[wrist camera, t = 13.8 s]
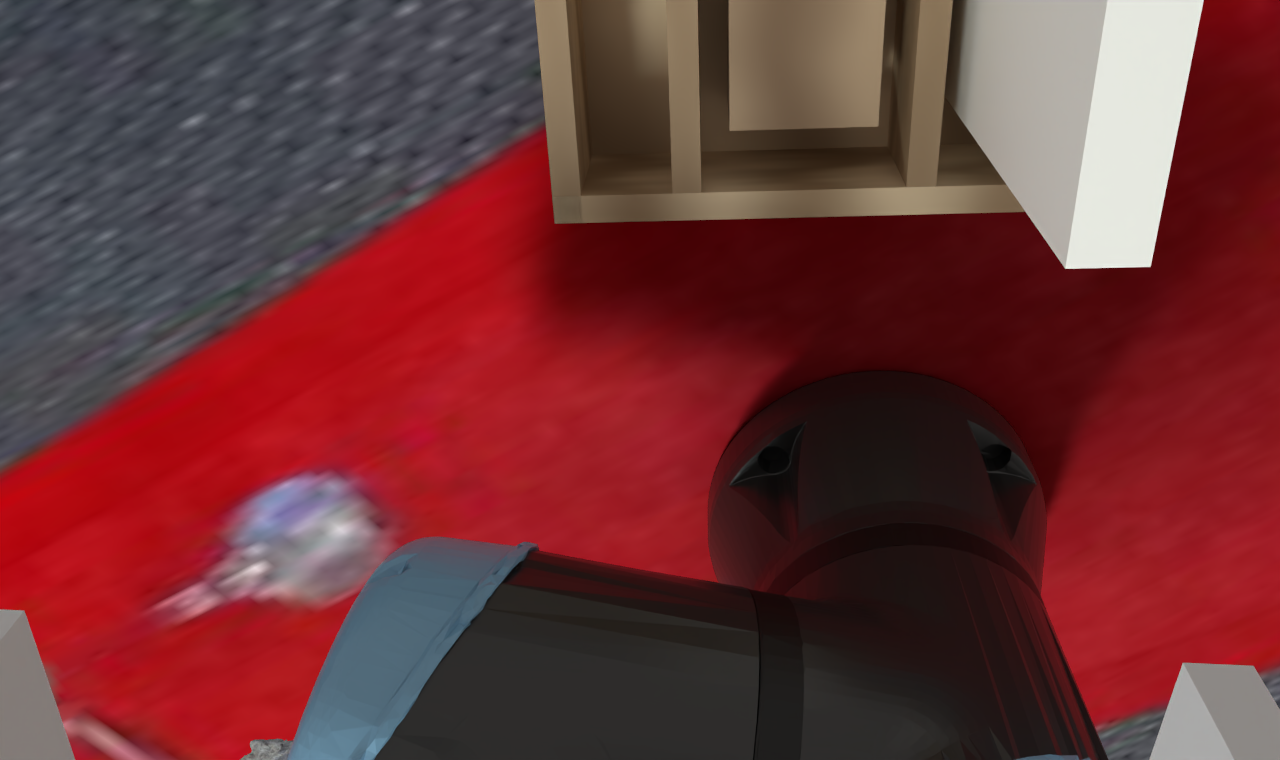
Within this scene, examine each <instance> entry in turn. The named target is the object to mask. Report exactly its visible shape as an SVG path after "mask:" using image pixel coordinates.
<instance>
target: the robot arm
mask: <svg viewBox="0 0 1280 760" xmlns="http://www.w3.org/2000/svg"><path fill="white" fill-rule="evenodd" d="M1046 530H1047V516H1046V507H1045V501H1044V495H1043V491H1042V487H1041V484H1040V481H1039V478H1038V476H1037V473H1036V471H1035V469H1034V467H1033V465H1032V462H1031V460H1030V458H1029V456H1028V454H1027V451H1026V449H1025V447H1024V445H1023V443H1022V442H1021V440H1020V438H1019V437H1018V435H1017V433H1016V432H1015V431H1014V429H1013V428H1012V427H1011V426H1010V424H1009V423H1008V422H1007V421H1006V420H1005V419H1004V418H1003V417H1002V416H1001V415H1000V414H999V413H998V412H997V411H996V410H995V409H994V408H992V407H991V406H990V405H989V404H987V403H986V402H985V401H983V400H982V399H980V398H979V397H977V396H976V395H974V394H972V393H970V392H968V391H967V390H965V389H962V388H960V387H958V386H956V385H954V384H951V383H948V382H946V381H943V380H940V379H936V378H933V377H929V376H924V375H920V374H914V373H907V372H897V371H867V372H858V373H850V374H845V375H839V376H835V377H831V378H827V379H824V380H820V381H817V382H814V383H812V384H809V385H806V386H804V387H801V388H799V389H797V390H795V391H793V392H791V393H789V394H787V395H785V396H783V397H782V398H780V399H778V400H777V401H775V402H773V403H772V404H770V405H769V406H768V407H766V408H765V409H764V410H762V411H761V412H760V413H758V414H757V415H756V416H755V417H754V418H753V419H751V420H750V421H749V422H748V423H747V424H746V425H745V426H744V427H743V428H742V429H741V431H740V432H739V433H738V434H737V435H736V436H735V438H734V439H733V440H732V442H731V443H730V444H729V446H728V447H727V449H726V451H725V452H724V454H723V456H722V458H721V460H720V462H719V464H718V466H717V468H716V471H715V473H714V476H713V479H712V483H711V487H710V492H709V499H708V544H709V551H710V557H711V561H712V565H713V568H714V572H715V575H716V577H717V580H718V582H719V583H716V582H710V581H704V580H698V579H693V578H687V577H681V576H675V575H669V574H663V573H657V572H651V571H645V570H639V569H633V568H628V567H623V566H617V565H612V564H607V563H601V562H596V561H591V560H585V559H580V558H575V557H569V556H564V555H559V554H553V553H548V552H543V551H539V547H538V544H534V543H530V542H523V543H520V544H518V545H517V546H511V545H503V544H495V543H487V542H479V541H471V540H463V539H455V538H447V537H426V538H421V539H417V540H414V541H412V542H409V543H407V544H405V545H403V546H402V547H400V548H399V549H397V550H396V551H395V552H393V553H392V554H391V555H389V556H388V557H387V558H386V559H385V560H384V561H383V562H382V563H381V564H380V565H379V566H378V568H377V569H376V570H375V571H374V573H373V574H372V576H371V577H370V578H369V580H368V581H367V583H366V584H365V586H364V588H363V589H362V591H361V592H360V594H359V595H358V597H357V599H356V600H355V602H354V604H353V605H352V607H351V609H350V611H349V613H348V614H347V616H346V618H345V620H344V622H343V624H342V626H341V628H340V630H339V632H338V634H337V636H336V638H335V640H334V642H333V645H332V647H331V649H330V651H329V653H328V655H327V657H326V660H325V662H324V664H323V666H322V669H321V671H320V673H319V676H318V678H317V680H316V683H315V685H314V688H313V690H312V692H311V695H310V698H309V700H308V703H307V705H306V708H305V710H304V713H303V715H302V718H301V721H300V724H299V727H298V729H297V732H296V735H295V738H294V741H293V743H292V746H291V749H290V752H289V755H288V758H287V760H1108V758H1107V755H1106V753H1105V750H1104V748H1103V746H1102V743H1101V741H1100V738H1099V736H1098V734H1097V731H1096V729H1095V726H1094V724H1093V722H1092V719H1091V717H1090V714H1089V712H1088V710H1087V707H1086V705H1085V702H1084V700H1083V698H1082V695H1081V693H1080V691H1079V688H1078V686H1077V683H1076V681H1075V679H1074V676H1073V674H1072V671H1071V669H1070V667H1069V664H1068V662H1067V659H1066V657H1065V655H1064V652H1063V650H1062V647H1061V645H1060V642H1059V640H1058V638H1057V635H1056V633H1055V630H1054V628H1053V625H1052V623H1051V620H1050V618H1049V616H1048V613H1047V611H1046V608H1045V606H1044V603H1043V601H1042V598H1041V587H1042V576H1043V564H1044V553H1045V541H1046ZM0 760H75V758H74V755H73V752H72V749H71V746H70V743H69V740H68V737H67V734H66V732H65V729H64V726H63V723H62V720H61V717H60V714H59V711H58V708H57V705H56V702H55V699H54V696H53V693H52V690H51V688H50V685H49V682H48V679H47V676H46V673H45V670H44V667H43V664H42V661H41V658H40V655H39V652H38V649H37V646H36V644H35V641H34V638H33V635H32V632H31V629H30V626H29V623H28V620H27V617H26V614H25V611H20V610H0ZM1150 760H1280V709H1279V707H1278V706H1277V704H1276V702H1275V701H1274V699H1273V697H1272V696H1271V694H1270V693H1269V691H1268V689H1267V688H1266V686H1265V684H1264V683H1263V681H1262V679H1261V678H1260V676H1259V674H1258V673H1257V671H1256V670H1255V668H1254V666H1243V665H1221V664H1199V663H1183V664H1182V667H1181V670H1180V673H1179V676H1178V679H1177V681H1176V684H1175V687H1174V690H1173V693H1172V696H1171V699H1170V702H1169V705H1168V707H1167V710H1166V713H1165V716H1164V719H1163V722H1162V725H1161V728H1160V731H1159V734H1158V736H1157V739H1156V742H1155V745H1154V748H1153V751H1152V754H1151V757H1150Z"/></svg>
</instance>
